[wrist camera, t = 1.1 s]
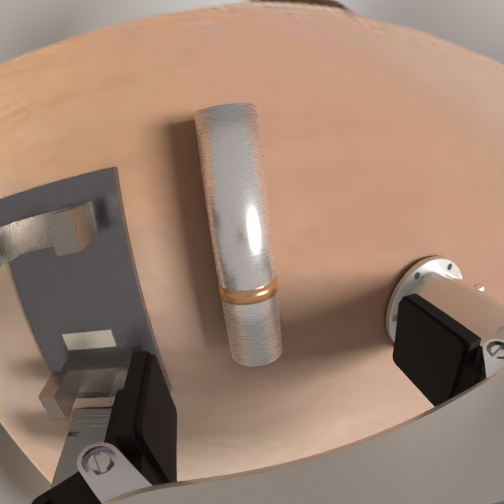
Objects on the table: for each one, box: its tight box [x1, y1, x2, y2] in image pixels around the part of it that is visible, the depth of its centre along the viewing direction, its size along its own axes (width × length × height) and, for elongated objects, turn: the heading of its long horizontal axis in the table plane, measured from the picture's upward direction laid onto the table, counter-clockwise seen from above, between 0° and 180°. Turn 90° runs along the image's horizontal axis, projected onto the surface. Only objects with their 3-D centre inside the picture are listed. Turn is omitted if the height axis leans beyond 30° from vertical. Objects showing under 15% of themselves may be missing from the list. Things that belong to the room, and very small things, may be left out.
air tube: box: [194, 103, 283, 367], centre depth 26 cm, size 22×5×5 cm, turn 7°
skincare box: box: [51, 408, 112, 489], centre depth 25 cm, size 8×7×16 cm
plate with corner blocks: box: [0, 167, 171, 420], centre depth 24 cm, size 14×24×8 cm, turn 7°
